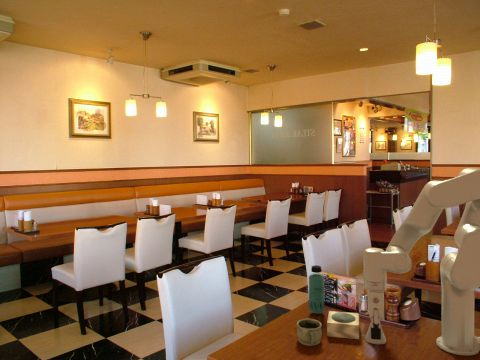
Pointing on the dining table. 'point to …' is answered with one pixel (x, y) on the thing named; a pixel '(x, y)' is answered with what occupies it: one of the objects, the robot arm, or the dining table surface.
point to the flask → (375, 341)
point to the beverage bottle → (316, 290)
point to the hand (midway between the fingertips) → (375, 334)
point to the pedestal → (343, 325)
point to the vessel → (309, 331)
